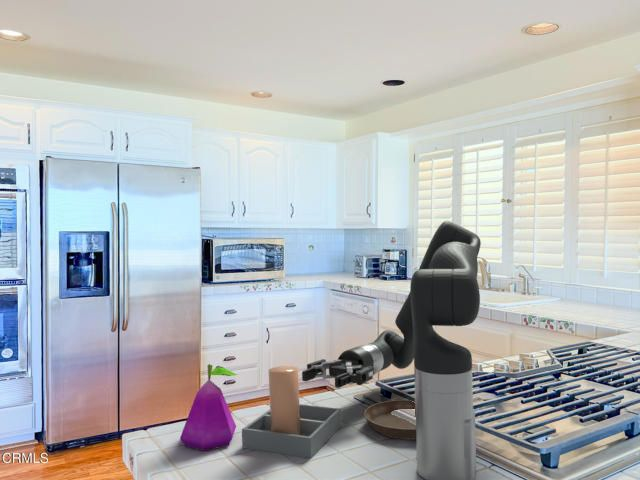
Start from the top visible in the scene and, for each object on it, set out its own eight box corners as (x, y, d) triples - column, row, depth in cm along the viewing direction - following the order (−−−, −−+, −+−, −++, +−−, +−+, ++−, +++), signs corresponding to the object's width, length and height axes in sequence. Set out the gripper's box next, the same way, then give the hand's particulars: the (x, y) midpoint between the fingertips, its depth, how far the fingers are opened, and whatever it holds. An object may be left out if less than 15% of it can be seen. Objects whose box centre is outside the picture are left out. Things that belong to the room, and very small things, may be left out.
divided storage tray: (341, 425, 104) (340, 408, 104) (311, 457, 89) (310, 438, 89) (280, 418, 109) (279, 402, 109) (242, 447, 94) (241, 429, 94)
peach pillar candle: (305, 434, 97) (302, 366, 97) (293, 445, 92) (290, 374, 92) (279, 431, 99) (277, 365, 99) (266, 441, 94) (263, 372, 94)
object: (362, 412, 112) (362, 399, 112) (442, 411, 111) (442, 398, 111) (366, 445, 94) (366, 429, 94) (462, 444, 94) (461, 428, 94)
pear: (224, 454, 92) (222, 372, 92) (169, 451, 94) (167, 370, 94) (245, 431, 103) (243, 357, 103) (195, 428, 105) (193, 356, 105)
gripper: (335, 343, 122) (292, 357, 109) (387, 350, 113) (347, 366, 100) (336, 374, 122) (293, 392, 109) (388, 383, 113) (348, 403, 100)
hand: (319, 379), depth 104 cm, fingers open, 8 cm apart
